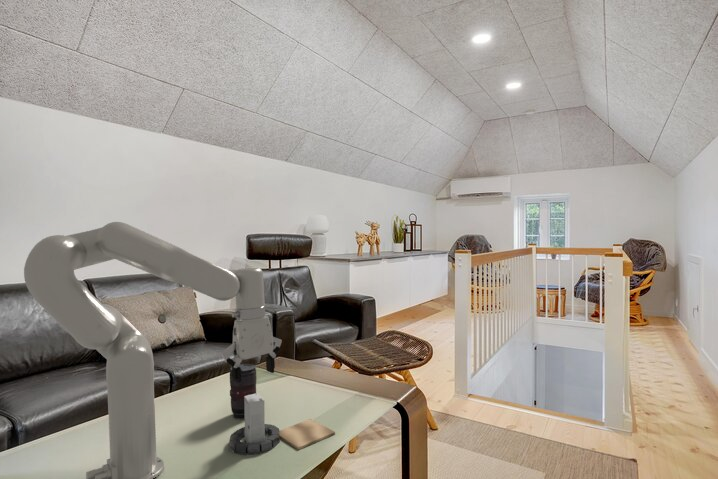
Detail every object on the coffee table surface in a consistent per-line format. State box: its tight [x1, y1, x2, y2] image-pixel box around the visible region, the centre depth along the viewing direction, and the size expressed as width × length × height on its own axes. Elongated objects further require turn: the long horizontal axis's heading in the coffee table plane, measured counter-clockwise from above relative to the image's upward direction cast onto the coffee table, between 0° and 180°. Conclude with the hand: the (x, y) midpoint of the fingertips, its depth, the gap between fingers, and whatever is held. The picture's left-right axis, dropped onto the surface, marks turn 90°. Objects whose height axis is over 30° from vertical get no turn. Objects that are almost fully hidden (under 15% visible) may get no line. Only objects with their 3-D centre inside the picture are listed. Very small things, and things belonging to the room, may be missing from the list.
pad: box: [279, 418, 336, 451], centre depth 114 cm, size 12×12×1 cm
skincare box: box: [244, 392, 266, 443], centre depth 110 cm, size 6×4×12 cm
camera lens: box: [229, 363, 257, 420], centre depth 128 cm, size 8×8×15 cm
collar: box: [228, 423, 281, 456], centre depth 110 cm, size 13×13×2 cm
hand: (254, 376), depth 110 cm, fingers open, 9 cm apart
